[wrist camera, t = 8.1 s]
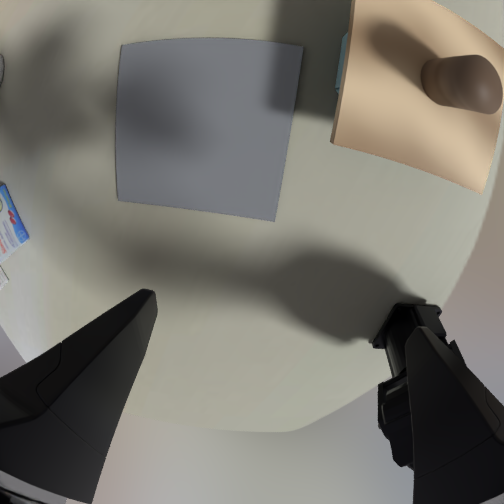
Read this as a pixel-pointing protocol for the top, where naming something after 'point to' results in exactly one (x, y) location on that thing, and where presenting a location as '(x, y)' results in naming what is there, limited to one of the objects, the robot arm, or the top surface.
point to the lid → (421, 89)
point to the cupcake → (1, 68)
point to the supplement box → (2, 278)
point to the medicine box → (10, 226)
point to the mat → (205, 123)
